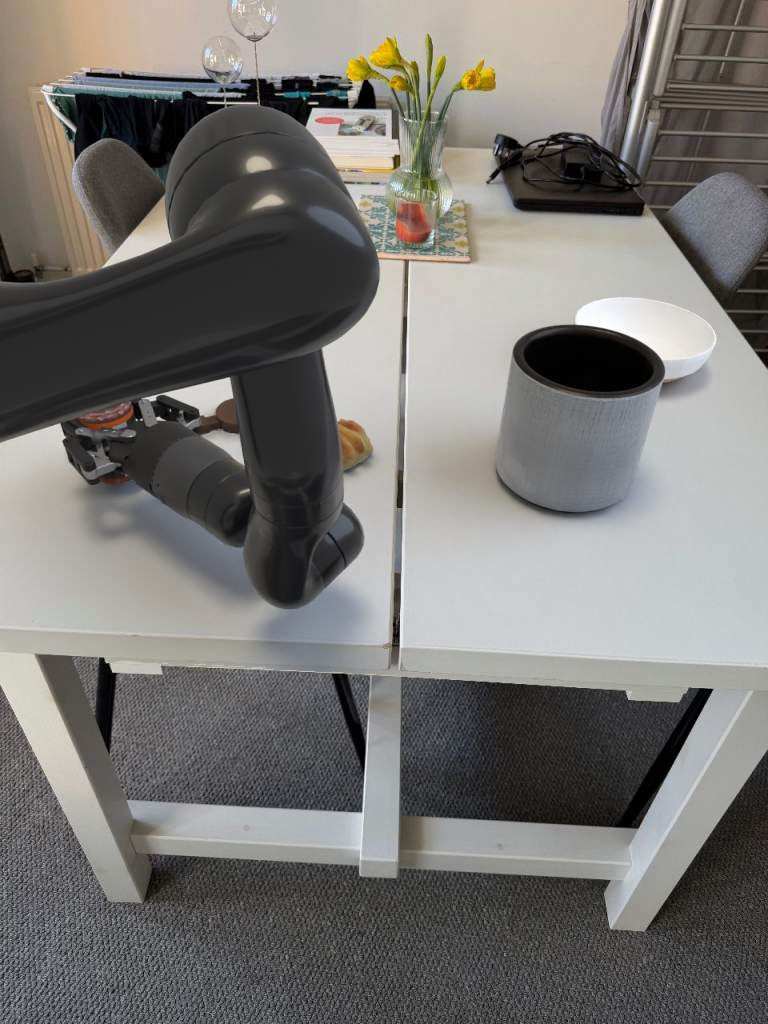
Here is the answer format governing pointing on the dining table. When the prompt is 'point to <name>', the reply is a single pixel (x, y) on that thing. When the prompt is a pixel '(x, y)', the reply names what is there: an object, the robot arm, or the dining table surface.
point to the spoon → (221, 418)
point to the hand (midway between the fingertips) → (93, 410)
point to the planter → (576, 416)
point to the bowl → (655, 330)
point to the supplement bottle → (115, 420)
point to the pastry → (353, 443)
